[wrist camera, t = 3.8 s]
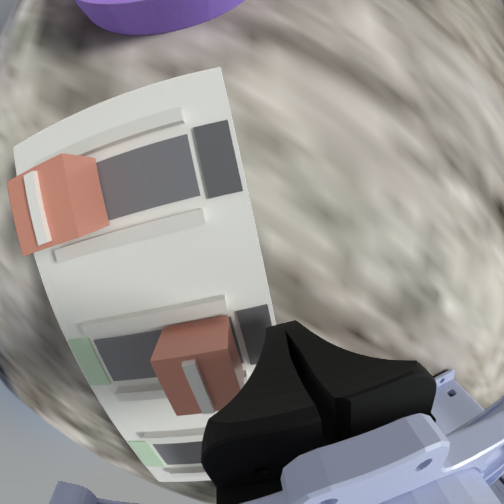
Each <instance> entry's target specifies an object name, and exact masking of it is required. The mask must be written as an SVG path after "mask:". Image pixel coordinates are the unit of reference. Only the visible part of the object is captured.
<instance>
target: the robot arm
mask: <svg viewBox="0 0 504 504" xmlns="http://www.w3.org/2000/svg"><path fill="white" fill-rule="evenodd" d="M454 375H455V371H454V370H453V369H450V370H448V371H446V372H444V373H442V374H440V375H438V376H437V377H435V378H434V377H433V376H432V375H431V374H430V373H429V372H428V371H427V370H426V369H425V368H424V367H423V366H422V365H421V364H420V363H418V362H417V361H406V360H387V359H379V358H373V357H368V356H364V355H360V354H357V353H353V352H350V351H348V350H345V349H342V348H340V347H337V346H335V345H333V344H331V343H329V342H327V341H325V340H324V339H322V338H320V337H319V336H317V335H316V334H314V333H313V332H311V331H310V330H308V329H307V328H306V327H304V326H303V325H302V324H300V323H299V322H297V321H296V320H295V321H291V322H287V323H282V324H278V325H274V326H270V327H267V328H266V335H265V341H264V345H263V348H262V352H261V354H260V357H259V359H258V362H257V364H256V366H255V368H254V370H253V372H252V374H251V376H250V377H249V379H248V380H247V382H246V383H245V385H244V386H243V387H242V389H241V390H240V391H239V393H238V394H237V395H236V396H235V397H234V398H233V399H232V400H231V401H230V402H229V403H228V404H227V405H226V406H225V407H223V408H222V409H221V410H220V411H218V412H217V413H216V414H214V415H213V416H212V417H210V418H209V419H208V421H207V424H206V428H205V431H204V435H203V439H202V447H201V464H202V466H203V469H204V470H205V472H206V473H207V475H208V476H209V478H210V479H211V481H212V482H213V483H214V485H215V486H216V488H217V504H504V396H502V397H501V398H500V399H499V400H497V401H496V402H495V403H493V404H492V405H491V406H489V407H488V408H487V409H485V410H484V409H483V408H482V407H481V406H480V405H479V404H478V403H477V402H476V401H475V400H474V399H473V398H472V397H471V396H470V395H469V394H468V393H467V392H466V391H465V390H464V389H463V388H462V387H461V386H460V385H459V384H458V383H457V382H456V381H455V380H454ZM49 504H135V503H127V502H118V501H112V500H106V499H100V498H97V497H96V496H95V495H94V494H93V493H92V492H91V491H90V490H88V489H87V488H85V487H83V486H80V485H76V484H71V483H67V482H63V481H58V483H57V485H56V488H55V490H54V493H53V495H52V498H51V500H50V503H49Z"/></svg>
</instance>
